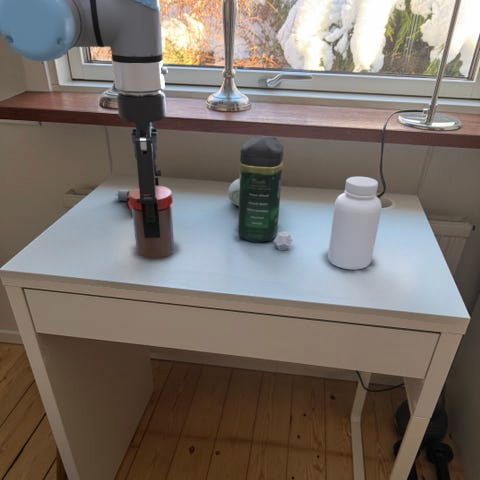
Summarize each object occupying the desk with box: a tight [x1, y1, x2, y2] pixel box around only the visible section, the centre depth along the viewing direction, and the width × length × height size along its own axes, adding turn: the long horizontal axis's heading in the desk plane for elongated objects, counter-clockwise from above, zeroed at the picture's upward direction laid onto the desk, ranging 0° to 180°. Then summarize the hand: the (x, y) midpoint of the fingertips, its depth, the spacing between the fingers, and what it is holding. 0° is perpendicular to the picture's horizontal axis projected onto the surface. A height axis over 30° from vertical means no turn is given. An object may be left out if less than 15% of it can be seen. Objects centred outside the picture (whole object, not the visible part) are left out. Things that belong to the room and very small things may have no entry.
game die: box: [273, 231, 293, 251], centre depth 89 cm, size 4×4×3 cm
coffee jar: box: [237, 135, 285, 243], centre depth 90 cm, size 10×8×19 cm
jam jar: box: [131, 204, 175, 259], centre depth 85 cm, size 7×7×11 cm
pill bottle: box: [327, 175, 383, 271], centre depth 82 cm, size 8×8×15 cm
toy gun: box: [115, 189, 132, 212], centre depth 104 cm, size 10×12×5 cm
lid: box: [129, 185, 173, 210], centre depth 82 cm, size 8×8×2 cm
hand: (153, 223), depth 85 cm, fingers open, 10 cm apart
